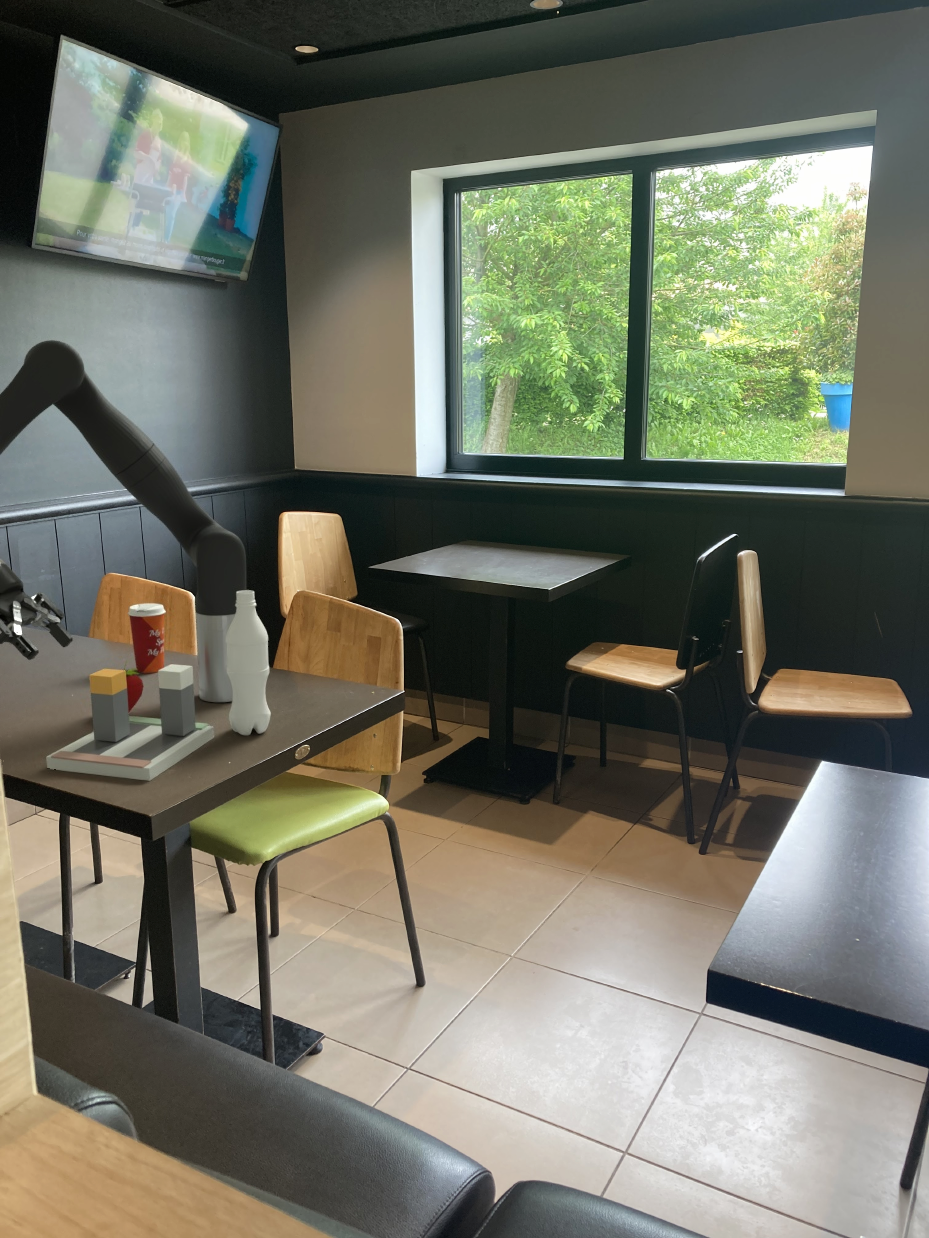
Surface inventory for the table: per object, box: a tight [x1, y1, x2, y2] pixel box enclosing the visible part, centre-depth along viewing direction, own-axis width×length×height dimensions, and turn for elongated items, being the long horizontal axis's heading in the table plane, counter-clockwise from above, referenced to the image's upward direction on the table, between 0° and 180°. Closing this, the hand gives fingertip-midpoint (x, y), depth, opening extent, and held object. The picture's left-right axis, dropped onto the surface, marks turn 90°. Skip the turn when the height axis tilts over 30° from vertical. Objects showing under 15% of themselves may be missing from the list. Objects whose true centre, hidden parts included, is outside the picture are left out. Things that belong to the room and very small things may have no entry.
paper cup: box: [127, 602, 167, 674], centre depth 200 cm, size 8×8×14 cm
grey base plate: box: [46, 663, 215, 782], centre depth 152 cm, size 20×18×13 cm
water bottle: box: [226, 589, 272, 736], centre depth 162 cm, size 7×7×25 cm
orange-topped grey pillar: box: [89, 668, 130, 742], centre depth 153 cm, size 4×4×11 cm
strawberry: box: [123, 660, 144, 713], centre depth 172 cm, size 6×8×10 cm
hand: (52, 649), depth 153 cm, fingers open, 8 cm apart
